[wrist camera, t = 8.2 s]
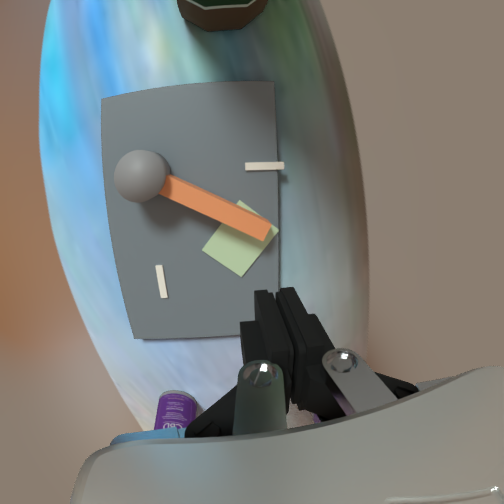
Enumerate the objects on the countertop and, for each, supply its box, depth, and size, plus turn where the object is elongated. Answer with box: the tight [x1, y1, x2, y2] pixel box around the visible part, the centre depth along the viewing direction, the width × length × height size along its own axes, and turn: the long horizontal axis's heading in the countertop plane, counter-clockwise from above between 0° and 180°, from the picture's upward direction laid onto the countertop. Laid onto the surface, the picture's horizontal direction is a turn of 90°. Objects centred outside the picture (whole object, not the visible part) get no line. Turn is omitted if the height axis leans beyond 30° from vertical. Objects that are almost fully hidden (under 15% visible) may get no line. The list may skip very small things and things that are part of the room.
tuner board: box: [101, 81, 284, 339], centre depth 22 cm, size 22×14×1 cm, turn 2°
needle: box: [114, 150, 272, 241], centre depth 19 cm, size 12×4×3 cm, turn 63°
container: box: [154, 390, 197, 430], centre depth 22 cm, size 5×5×15 cm
